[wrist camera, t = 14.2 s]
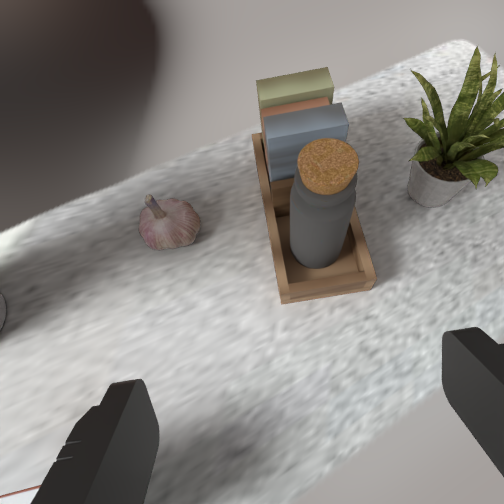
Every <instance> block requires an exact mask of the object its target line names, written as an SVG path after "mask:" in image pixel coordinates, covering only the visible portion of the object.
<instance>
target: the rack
mask: <svg viewBox="0 0 504 504" xmlns="http://www.w3.org/2000/svg"><path fill="white" fill-rule="evenodd" d="M256 83H257V92H258V101H259V109H260V118H261V127H262V133H257V134H252V140H253V146H254V153H255V159H256V164H257V170H258V176H259V181H260V187H261V192H262V198H263V204H264V209H265V215H266V221H267V226H268V232H269V238H270V243H271V249H272V254H273V260H274V266H275V271H276V277H277V283H278V288H279V294H280V299H281V304H288V303H294V302H300V301H306V300H312V299H318V298H324V297H330V296H337V295H343V294H349V293H355V292H361V291H367V290H371V288H372V286H373V285H374V283H375V281H376V280H377V277H376V274H375V270H374V267H373V264H372V261H371V257H370V254H369V251H368V248H367V244H366V241H365V238H364V235H363V231H362V228H361V225H360V222H359V218H358V215H357V212H356V209H355V205H354V209H353V212H352V216H351V219H350V223H349V226H348V229H347V233H346V236H345V240H344V243H343V246H342V249H341V252H340V255H339V257H338V258H337V260H336V261H335V262H334V263H332V264H331V265H329V266H328V267H325V268H321V269H312V268H307V267H305V266H303V265H301V264H300V263H299V262H297V261H296V259H295V258H294V257H293V255H292V252H291V248H290V193H291V188H292V185H293V183H294V177H295V170H296V168H297V166H298V164H297V160H298V156H299V153H300V152H301V150H302V149H303V148H304V147H305V146H306V145H307V144H309V143H310V142H312V141H314V140H318V139H322V138H333V139H338V140H341V141H344V142H346V137H347V132H348V126H349V123H348V120H347V117H346V114H345V111H344V108H343V105H342V103H336V104H332V100H333V92H334V85H333V82H332V79H331V76H330V73H329V70H328V67H325V68H320V69H315V70H309V71H304V72H299V73H294V74H289V75H283V76H278V77H273V78H267V79H262V80H257V81H256Z"/></svg>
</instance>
